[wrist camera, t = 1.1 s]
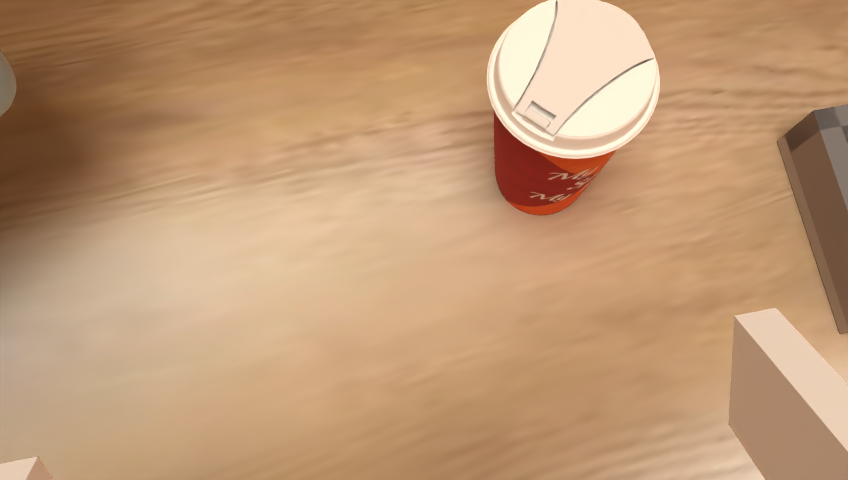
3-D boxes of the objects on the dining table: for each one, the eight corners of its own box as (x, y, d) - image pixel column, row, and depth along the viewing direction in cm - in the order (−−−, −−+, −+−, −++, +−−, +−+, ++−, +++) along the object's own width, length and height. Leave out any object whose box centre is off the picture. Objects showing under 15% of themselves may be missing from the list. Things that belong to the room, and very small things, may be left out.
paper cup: (556, 256, 42) (603, 182, 28) (454, 186, 43) (452, 83, 29) (626, 158, 43) (704, 41, 29) (525, 93, 44) (555, -47, 31)
